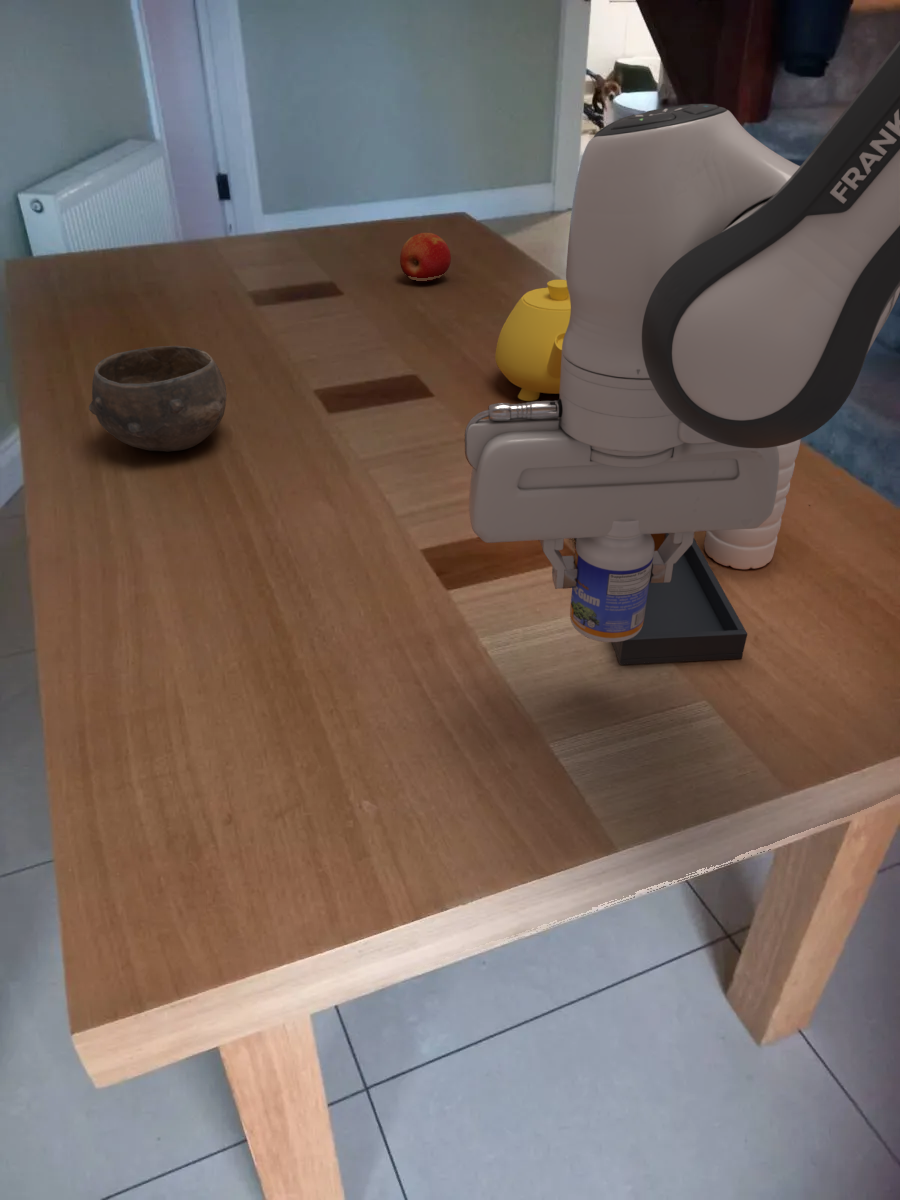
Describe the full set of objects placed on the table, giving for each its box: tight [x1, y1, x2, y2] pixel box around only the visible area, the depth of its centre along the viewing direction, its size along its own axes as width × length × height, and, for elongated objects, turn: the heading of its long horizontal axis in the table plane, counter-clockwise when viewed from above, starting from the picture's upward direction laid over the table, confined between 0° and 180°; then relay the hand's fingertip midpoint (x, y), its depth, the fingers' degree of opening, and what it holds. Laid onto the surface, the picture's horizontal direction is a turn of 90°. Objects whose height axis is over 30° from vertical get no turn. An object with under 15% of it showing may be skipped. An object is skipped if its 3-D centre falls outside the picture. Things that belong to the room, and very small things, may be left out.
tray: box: [574, 533, 748, 666], centre depth 85 cm, size 27×10×3 cm, turn 4°
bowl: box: [88, 345, 227, 452], centre depth 105 cm, size 14×15×10 cm
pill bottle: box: [569, 520, 654, 643], centre depth 65 cm, size 5×5×10 cm
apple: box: [399, 232, 452, 284], centre depth 158 cm, size 8×8×8 cm
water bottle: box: [703, 438, 802, 570], centre depth 82 cm, size 9×6×25 cm
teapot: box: [494, 279, 571, 402], centre depth 116 cm, size 20×16×14 cm
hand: (611, 581), depth 65 cm, fingers closed on pill bottle, 5 cm apart
